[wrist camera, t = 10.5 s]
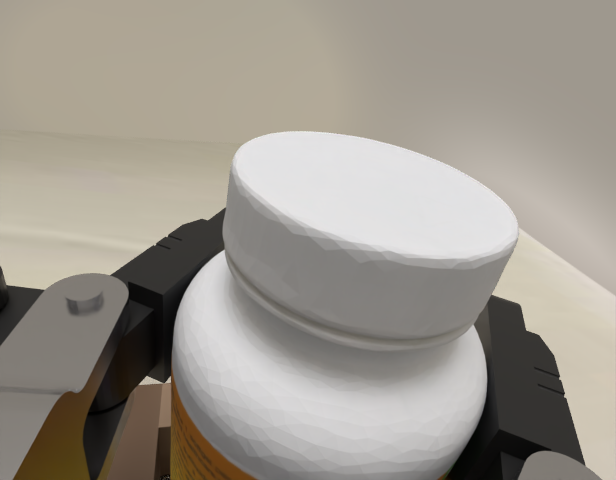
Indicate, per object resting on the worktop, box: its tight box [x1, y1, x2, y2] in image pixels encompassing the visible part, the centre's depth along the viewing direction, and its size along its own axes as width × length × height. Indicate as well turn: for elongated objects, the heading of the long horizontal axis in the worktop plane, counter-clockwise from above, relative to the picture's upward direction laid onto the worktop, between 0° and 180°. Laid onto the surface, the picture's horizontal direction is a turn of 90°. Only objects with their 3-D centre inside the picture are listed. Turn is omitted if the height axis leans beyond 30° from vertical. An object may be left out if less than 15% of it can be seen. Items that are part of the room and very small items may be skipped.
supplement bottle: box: [170, 131, 519, 480], centre depth 8 cm, size 5×5×10 cm
